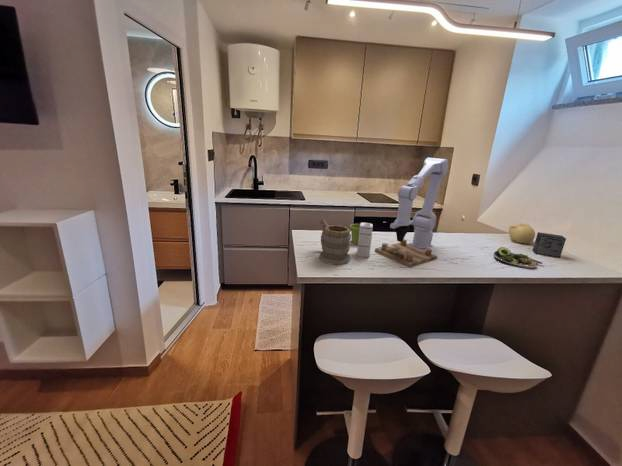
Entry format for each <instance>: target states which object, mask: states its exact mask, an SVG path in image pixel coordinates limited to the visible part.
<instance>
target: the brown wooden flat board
mask: <svg viewBox="0 0 622 466" xmlns="http://www.w3.org/2000/svg"><path fill="white" fill-rule="evenodd" d="M407 241H408V240H407V239H405V238H404V239H403V241H402V242H398V243H397V242H396V243H393V244H391V245H392V246H395V247H397V248H400V249H403V250H406V255H405V256H404V255H403V254H400V253H398V252H396V253H395V254H394V253H391V252H389V251H386V250H383V249H382V246H380V247H376V248H374V252H375V253H378V254H380V255H382V256H384V257H386V258H389V259H391V260H393V261H395V262H397V263H399V264H402V265H403V266H406V267H409V268H412V267H416V266H418V265H421V264H425V263H427V262H431V261H434V260H437V259H438V255H437V254H434V253H433V252H432V251H433V250H432V249H431V248H425V250H424V249H420V248H418V247H415V246H413V245H410V244H409V243H407Z"/></svg>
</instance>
